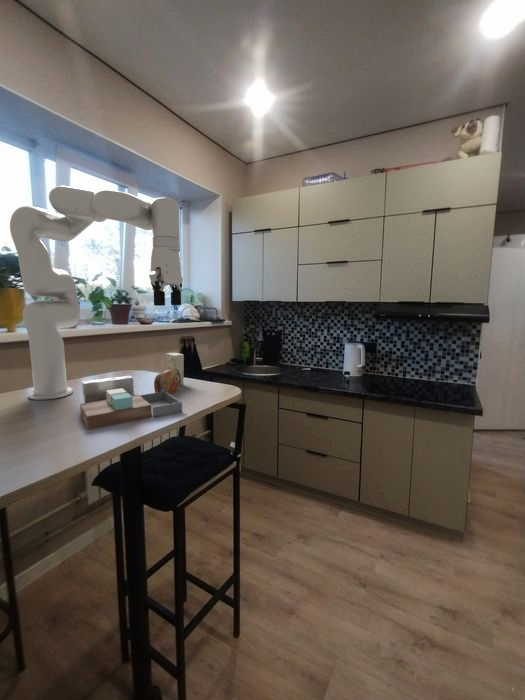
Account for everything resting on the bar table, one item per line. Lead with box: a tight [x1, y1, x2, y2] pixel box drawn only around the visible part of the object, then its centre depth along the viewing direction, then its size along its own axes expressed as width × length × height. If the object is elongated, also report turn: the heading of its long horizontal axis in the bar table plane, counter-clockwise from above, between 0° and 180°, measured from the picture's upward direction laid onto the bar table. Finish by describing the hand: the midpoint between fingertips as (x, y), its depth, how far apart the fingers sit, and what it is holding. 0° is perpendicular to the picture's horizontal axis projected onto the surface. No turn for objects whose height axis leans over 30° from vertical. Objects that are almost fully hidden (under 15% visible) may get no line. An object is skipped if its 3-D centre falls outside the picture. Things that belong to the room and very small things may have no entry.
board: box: [79, 394, 153, 431], centre depth 91 cm, size 12×16×4 cm
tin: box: [153, 369, 181, 396], centre depth 113 cm, size 15×3×8 cm, turn 168°
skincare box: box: [165, 352, 185, 386], centre depth 126 cm, size 6×4×12 cm
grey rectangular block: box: [81, 375, 135, 403], centre depth 102 cm, size 4×14×8 cm, turn 127°
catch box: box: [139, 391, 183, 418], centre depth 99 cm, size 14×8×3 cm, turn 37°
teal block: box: [111, 393, 133, 410], centre depth 89 cm, size 4×4×3 cm
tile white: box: [106, 388, 127, 404], centre depth 94 cm, size 4×4×3 cm
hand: (168, 305), depth 96 cm, fingers open, 9 cm apart
